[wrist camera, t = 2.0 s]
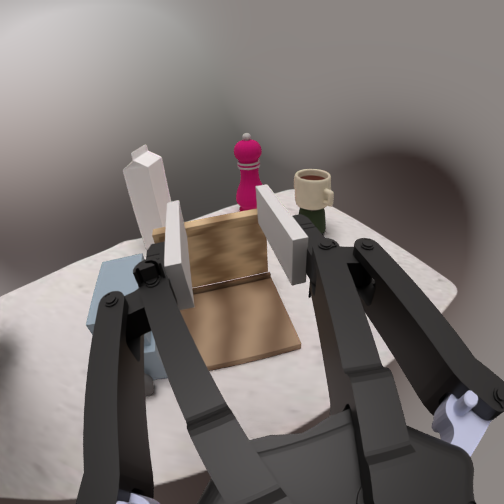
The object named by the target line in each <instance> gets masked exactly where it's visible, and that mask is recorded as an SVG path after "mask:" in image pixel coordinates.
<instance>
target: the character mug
mask: <svg viewBox="0 0 504 504" xmlns="http://www.w3.org/2000/svg"><path fill="white" fill-rule="evenodd" d="M294 189H295V201H296V205H298V206H299V207H300V210H299V215H300V214H302V215H304V216H306V217H308V218H309V219H310V221H311V222H312V223H313V224H314V225H315V227H316V228H317V229H318V230H319V231H320V232H321V234H322V233H324V232H325V229H326V224H325V210H324V208H325V207H326V206H331V207H332V205H333V197H334V193H333V191H331V175H330V174H329V173H328V172H326V171H323V170H318V169H305V170H300V171H298V172H296V174H295V177H294Z"/></svg>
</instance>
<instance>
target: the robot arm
mask: <svg viewBox="0 0 504 504" xmlns="http://www.w3.org/2000/svg"><path fill="white" fill-rule="evenodd" d="M256 200H257V213H258V223H259V225H260V227H261V229H262V231H263V233H264V234H265V236H266V238H267V240H268V242H269V244H270V246H271V247H272V249H273V251H274V253H275V255H276V257H277V259H278V261H279V262H280V264H281V266H282V268H283V270H284V272H285V274H286V276H287V277H288V279H289V281H290V283H291V285H296V284H300V283H304V282H306V274H307V275H308V277H309V279H310V286H309V298H310V297H311V296H312V301H313V306H314V311H315V316H316V322H317V327H318V332H319V338H320V343H321V349H322V354H323V360H324V366H325V372H326V378H327V384H328V391H329V397H330V417H328V418H326V419H325V420H323V421H322V422H320V423H319V424H317V425H315V426H314V427H312V428H311V429H309V430H307V431H306V432H304V433H301V434H285V435H269V436H265V437H261V438H257V439H253V440H249V439H248V438H247V436H246V434H245V433H244V431H243V429H242V428H241V426H240V424H239V423H238V421H237V419H236V418H235V416H234V414H233V413H232V411H231V410H230V408H229V407H228V405H227V404H226V402H225V400H224V398H223V397H222V395H221V393H220V391H219V389H218V387H217V385H216V384H215V382H214V380H213V378H212V376H211V374H210V372H209V370H208V368H207V366H206V364H205V362H204V360H203V358H202V356H201V354H200V352H199V350H198V348H197V346H196V344H195V342H194V340H193V338H192V336H191V334H190V332H189V329H188V327H187V325H186V323H185V321H184V319H183V316H182V314H181V312H180V310H183V309H188V308H193V307H195V306H194V298H193V290H192V281H191V272H190V262H189V252H188V241H187V234H186V230H185V226H184V221H183V217H182V213H181V208H180V203H179V200H178V201H174V202H169V203H167V213H166V230H165V241H164V242H160V243H155V244H151V245H150V247H149V248H148V250H147V256H146V260H143V261H141V262H139V263H138V264H137V265H136V266H135V267H134V269H133V275H134V277H135V279H136V282H137V284H138V286H139V288H138V289H137V290H136V291H134V292H132V293H130V294H127V295H125V296H124V294H123V293H122V292H120V291H112V292H109V293H107V294H106V295H104V296H103V297H102V298H101V299H100V302H99V305H98V310H97V314H96V320H95V325H94V331H93V337H92V343H91V349H90V356H89V364H88V372H87V382H86V393H85V406H84V430H83V456H84V474H83V478H82V481H81V485H80V489H79V493H78V497H77V501H76V504H160V503H159V502H157V501H156V500H154V499H153V497H154V482H153V472H152V465H151V458H150V449H149V440H148V430H147V417H146V402H145V379H144V334H146V333H148V332H150V331H152V334H153V337H154V340H155V343H156V346H157V349H158V352H159V355H160V358H161V360H162V363H163V366H164V369H165V371H166V374H167V377H168V379H169V382H170V384H171V387H172V389H173V392H174V394H175V397H176V399H177V402H178V404H179V406H180V409H181V411H182V413H183V416H184V418H185V420H186V423H187V429H188V432H189V435H190V437H191V439H192V441H193V443H194V445H195V447H196V450H197V452H198V454H199V456H200V458H201V459H202V461H203V463H204V465H205V467H206V469H207V471H208V473H209V475H210V476H211V480H210V481H209V483H208V485H207V487H206V488H205V490H204V492H203V494H202V496H201V497H200V499H199V501H198V503H197V504H476V502H475V500H474V494H473V476H474V467H473V462H472V460H471V457H470V456H471V455H472V453H473V452H474V450H475V448H476V447H477V445H478V443H479V442H480V440H481V438H482V436H483V434H484V433H485V431H486V429H487V427H488V425H489V424H490V422H491V421H492V420H493V419H494V418H496V417H497V416H499V415H500V414H501V413H503V412H504V381H503V380H502V379H500V378H499V377H498V376H497V375H496V374H494V373H493V372H492V371H491V370H489V369H488V368H487V367H486V366H484V365H483V364H482V363H481V362H479V361H478V360H477V359H475V357H474V356H473V355H472V353H471V352H470V350H469V349H468V348H467V346H466V345H465V344H464V342H463V341H462V340H461V338H460V337H459V336H458V334H457V333H456V332H455V330H454V329H453V328H452V327H451V326H450V324H449V323H448V322H447V320H446V319H445V318H444V317H443V315H442V314H441V313H440V312H439V310H438V309H437V308H436V307H435V306H434V304H433V303H432V302H431V301H430V300H429V298H428V297H427V296H426V295H425V294H424V293H423V291H422V290H421V289H420V288H419V287H418V286H417V285H416V283H415V282H414V281H413V280H412V279H411V278H410V277H409V276H408V275H407V273H406V272H405V271H404V270H403V269H402V268H401V267H400V266H399V265H398V264H397V263H396V262H395V261H394V259H393V258H392V257H391V256H390V255H389V254H388V253H387V252H386V251H385V250H384V249H383V248H382V247H381V246H380V245H379V244H378V243H377V242H375V241H374V240H371V239H367V238H360V239H358V240H356V241H355V243H354V247H340V246H339V244H338V243H337V242H336V241H334V240H332V239H329V238H325V237H324V236H323V235H322V234H321V232H320V231H319V230H318V229H317V228H316V227H315V225H314V224H313V223H312V222H311V221H310V219H309V218H308V217H306V216H304V215H302V214H300V215H294V216H292V215H291V214H290V213H289V211H288V210H287V209H286V208H285V206H284V205H283V204H282V203H281V201H280V200H279V199H278V198H277V196H276V195H275V194H274V193H273V191H272V190H271V189H270V188H269V186H268V185H260V186H256ZM373 279H374V280H373ZM365 313H366V314H367V316H368V317H369V319H370V320H371V322H372V323H373V325H374V326H375V328H376V329H377V331H378V333H379V334H380V336H381V337H382V339H383V340H384V342H385V343H386V345H387V346H388V348H389V350H390V351H391V353H392V354H393V356H394V357H395V359H396V361H397V362H398V364H399V366H400V367H401V369H402V370H403V372H404V374H405V375H406V377H407V379H408V380H409V382H410V384H411V385H412V387H413V388H414V390H415V392H416V393H417V395H418V397H419V398H420V400H421V401H422V403H423V405H424V406H425V407H426V408H427V409H428V411H429V412H430V413H431V414H432V415H433V416H434V421H433V423H432V429H433V431H435V432H438V433H440V437H441V440H440V439H438V438H435V437H433V436H430V435H428V434H425V433H423V432H420V431H418V430H416V429H414V428H411V427H409V426H407V425H406V423H405V418H404V414H403V410H402V407H401V403H400V400H399V395H398V392H397V388H396V385H395V381H394V378H393V375H392V372H391V370H390V369H389V368H386V367H383V366H382V364H381V361H380V357H379V354H378V351H377V348H376V345H375V341H374V338H373V335H372V332H371V329H370V326H369V323H368V320H367V317H366V314H365Z"/></svg>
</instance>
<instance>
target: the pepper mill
mask: <svg viewBox="0 0 504 504" xmlns="http://www.w3.org/2000/svg"><path fill="white" fill-rule="evenodd" d="M242 138H243V140H242V141H240V142H238V143H237V144H236V145H235V148H234V155H235V157H236V158H237V159H238V160H239V161H238V162H237V164H238V168H239V169H240V171H241V181H240V185H239V187H238V190H237V195H236V199H237V203H238V204H239V205H240V206H241V207H240V212H241V211H246V210H252V209H257V200H256V186H260V185H262V183H261V181H260V179H259V174H258V167H260V160H259V159H258V158H259V157H260V155H261V147H260V145H259V143H258V142H256V141H254V140H251V139H250V138H251V136H250V134H248V133H245V134H243V137H242Z"/></svg>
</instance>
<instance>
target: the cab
mask: <svg viewBox="0 0 504 504" xmlns="http://www.w3.org/2000/svg"><path fill="white" fill-rule="evenodd" d="M143 260H145V259H144V257H143V254H137V255H133V256H128V257H124V258H119V259H115V260H110V261H106V262H102V265H101V269H100V272H99V275H98V279H97V282H96V286H95V290H94V293H93V297H92V301H91V305H90V309H89V314H88V318H87V322H86V326H87V327H88V329H89V330H90V332H91V333H92V335H93V331H94V325H95V320H96V314H97V310H98V305H99V302H100V299H101V298H102V297H103V296H104V295H106V294H107V293H109V292H112V291H120V292H122V293H123V294H124V296H125V295H127V294H130V293H132V292H134V291H136V290H137V289H138V288H139V286H138V284H137V282H136V279H135V277H134V275H133V269H134V267H135V266H136V265H137V264H138V263H139V262H141V261H143ZM162 378H168V377H167V374H166V371H165V369H164V366H163V363H162V360H161V358H160V355H159V352H158V349H157V346H156V343H155V340H154V337H153V334H152V331H150V332H148V333H146V334H144V379H145V396H149V395H151V394H153V392H154V386H153V380H155V379H162Z"/></svg>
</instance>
